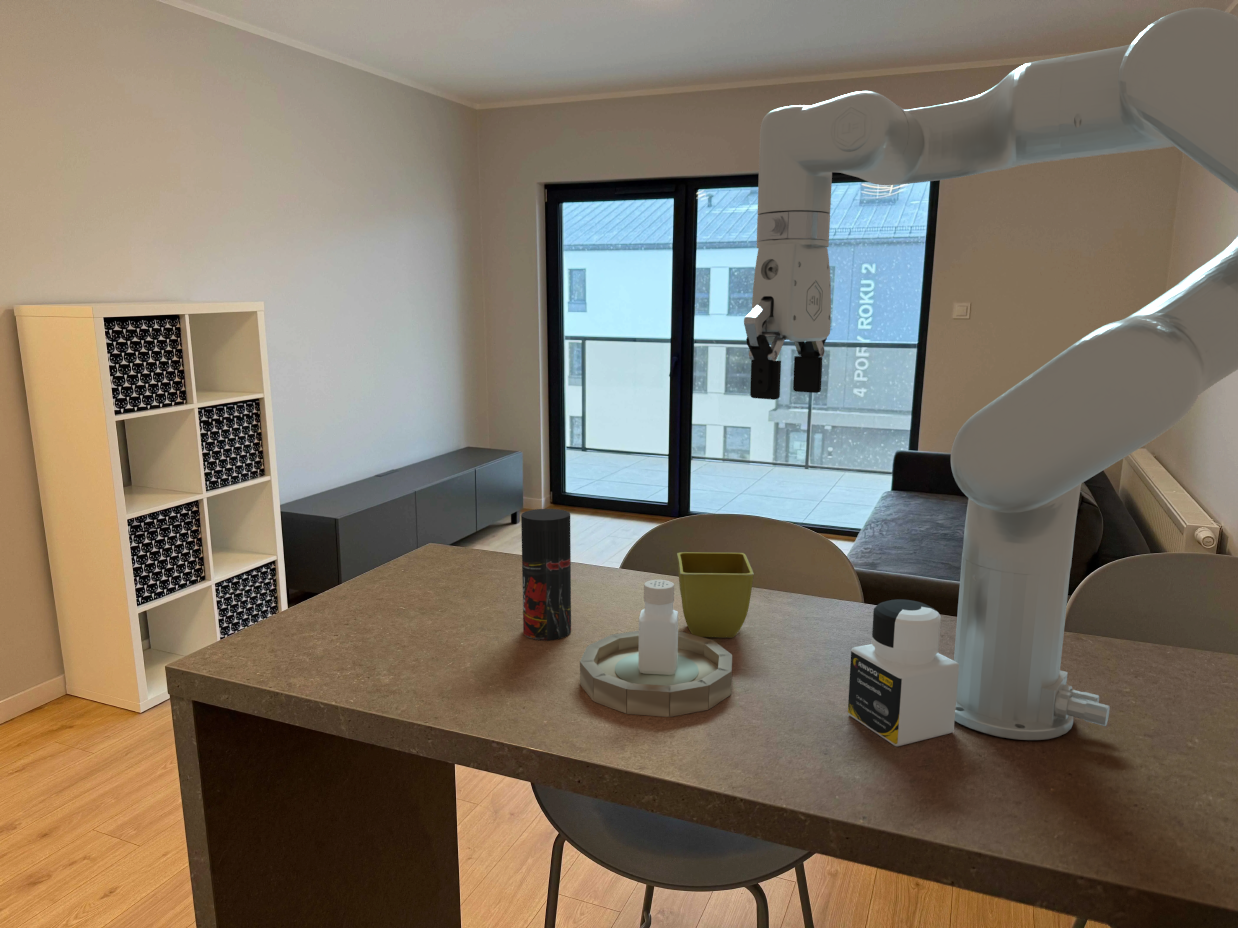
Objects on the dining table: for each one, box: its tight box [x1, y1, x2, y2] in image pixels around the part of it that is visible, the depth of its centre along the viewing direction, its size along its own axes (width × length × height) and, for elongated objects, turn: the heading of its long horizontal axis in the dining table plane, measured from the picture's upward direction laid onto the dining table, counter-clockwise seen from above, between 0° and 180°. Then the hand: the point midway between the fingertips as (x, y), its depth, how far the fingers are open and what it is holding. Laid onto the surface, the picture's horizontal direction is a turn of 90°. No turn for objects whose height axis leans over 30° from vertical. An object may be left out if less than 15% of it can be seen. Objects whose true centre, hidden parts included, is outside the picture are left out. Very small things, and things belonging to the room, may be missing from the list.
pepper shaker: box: [638, 579, 679, 675], centre depth 90 cm, size 4×4×10 cm
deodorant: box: [520, 508, 572, 642], centre depth 103 cm, size 6×6×15 cm
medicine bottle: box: [847, 598, 959, 747], centre depth 80 cm, size 7×7×12 cm
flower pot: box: [676, 551, 755, 639], centre depth 104 cm, size 9×9×9 cm
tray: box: [579, 630, 733, 718], centre depth 90 cm, size 16×16×3 cm
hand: (786, 395), depth 92 cm, fingers open, 9 cm apart
